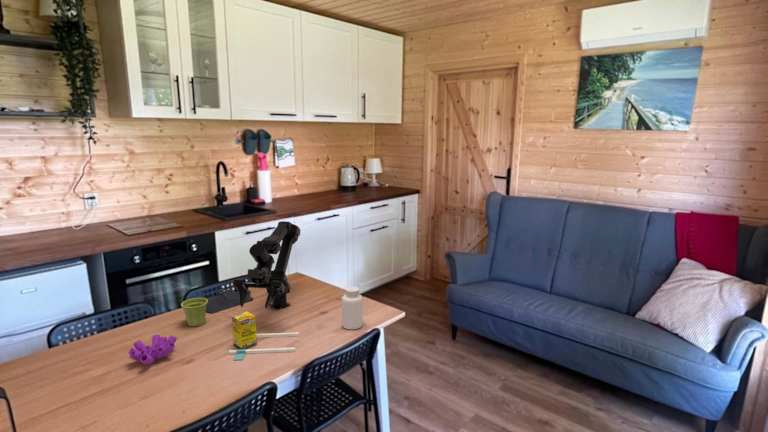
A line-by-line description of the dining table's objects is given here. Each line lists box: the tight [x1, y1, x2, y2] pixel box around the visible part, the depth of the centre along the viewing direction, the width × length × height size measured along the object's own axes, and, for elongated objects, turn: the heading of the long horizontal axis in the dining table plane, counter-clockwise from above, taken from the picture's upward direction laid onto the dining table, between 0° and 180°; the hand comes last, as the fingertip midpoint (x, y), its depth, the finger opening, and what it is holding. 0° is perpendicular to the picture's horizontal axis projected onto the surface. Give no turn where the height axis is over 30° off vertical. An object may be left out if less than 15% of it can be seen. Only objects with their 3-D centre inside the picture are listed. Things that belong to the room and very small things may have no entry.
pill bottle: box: [341, 286, 364, 330], centre depth 162 cm, size 8×8×15 cm
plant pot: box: [180, 297, 208, 327], centre depth 164 cm, size 9×9×9 cm
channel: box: [228, 331, 300, 362], centre depth 149 cm, size 22×20×1 cm
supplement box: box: [231, 310, 258, 350], centre depth 148 cm, size 6×6×11 cm
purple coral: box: [128, 334, 178, 365], centre depth 139 cm, size 11×15×10 cm
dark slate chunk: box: [206, 287, 255, 315], centre depth 185 cm, size 15×22×5 cm
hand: (253, 307), depth 155 cm, fingers open, 9 cm apart
